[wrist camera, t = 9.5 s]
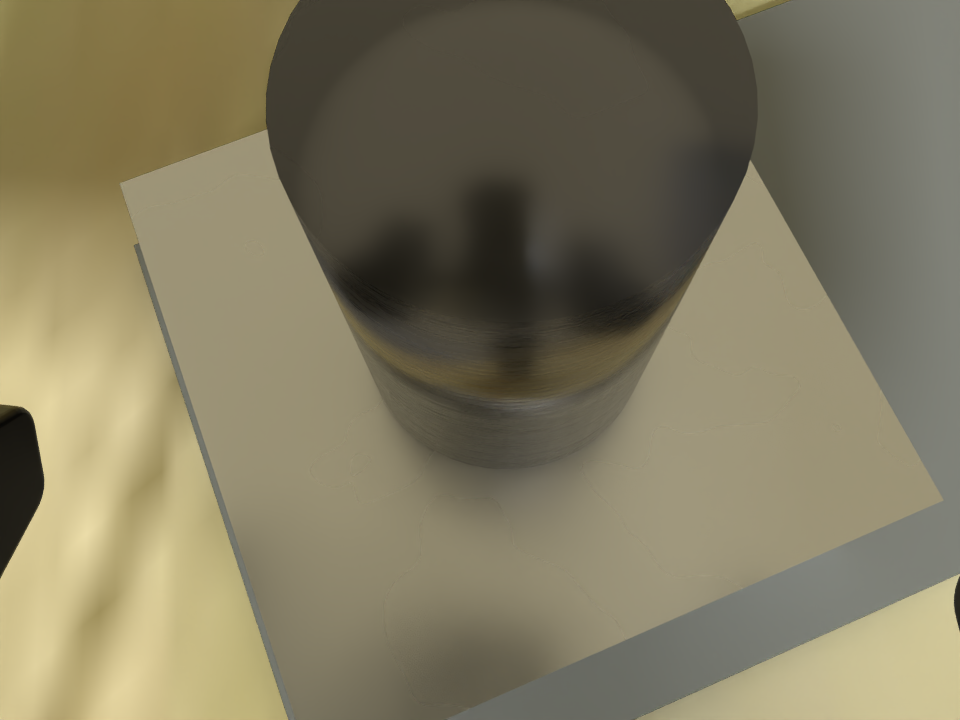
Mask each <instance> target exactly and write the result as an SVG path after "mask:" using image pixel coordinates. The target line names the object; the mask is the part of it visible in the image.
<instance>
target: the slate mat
mask: <svg viewBox="0 0 960 720" xmlns="http://www.w3.org/2000/svg"><path fill="white" fill-rule="evenodd" d="M737 22H738V24H739V26H740V28H741V30H742V32H743V34H744V37H745V40H746V43H747V46H748V49H749V52H750V55H751V58H752V62H753V67H754V73H755V78H756V84H757V98H758V120H757V128H756V136H755V144H754V148H753V152H752V155H751V159H750V160H751V162H752V164H753V165H754V167H755V169H756V171H757V172H758V174H759V176H760V178H761V179H762V181H763V183H764V185H765V186H766V188H767V190H768V192H769V193H770V195H771V197H772V199H773V201H774V202H775V204H776V206H777V208H778V209H779V211H780V213H781V215H782V216H783V218H784V220H785V222H786V223H787V225H788V227H789V229H790V230H791V232H792V234H793V236H794V237H795V239H796V241H797V243H798V245H799V246H800V248H801V250H802V252H803V253H804V255H805V257H806V259H807V260H808V262H809V264H810V266H811V267H812V269H813V271H814V273H815V274H816V276H817V278H818V280H819V281H820V283H821V285H822V287H823V289H824V290H825V292H826V294H827V296H828V297H829V299H830V301H831V303H832V304H833V306H834V308H835V310H836V311H837V313H838V315H839V317H840V318H841V320H842V322H843V324H844V325H845V327H846V329H847V331H848V333H849V334H850V336H851V338H852V340H853V341H854V343H855V345H856V347H857V348H858V350H859V352H860V354H861V355H862V357H863V359H864V361H865V362H866V364H867V366H868V368H869V369H870V371H871V373H872V375H873V377H874V378H875V380H876V382H877V384H878V385H879V387H880V389H881V391H882V392H883V394H884V396H885V398H886V399H887V401H888V403H889V405H890V406H891V408H892V410H893V412H894V413H895V415H896V417H897V419H898V421H899V422H900V424H901V426H902V428H903V429H904V431H905V433H906V435H907V436H908V438H909V440H910V442H911V443H912V445H913V447H914V449H915V450H916V452H917V454H918V456H919V458H920V459H921V461H922V463H923V465H924V466H925V468H926V470H927V472H928V473H929V475H930V477H931V479H932V480H933V482H934V484H935V486H936V487H937V489H938V491H939V493H940V494H941V496H942V498H943V501H941V502H939V503H936V504H934V505H932V506H929V507H927V508H925V509H923V510H920V511H918V512H916V513H914V514H911V515H909V516H907V517H904V518H902V519H900V520H898V521H895V522H893V523H891V524H889V525H886V526H884V527H882V528H879V529H877V530H875V531H873V532H870V533H868V534H866V535H864V536H861V537H859V538H857V539H854V540H852V541H850V542H848V543H845V544H843V545H841V546H839V547H836V548H834V549H832V550H829V551H827V552H825V553H823V554H820V555H818V556H816V557H813V558H811V559H809V560H807V561H804V562H802V563H800V564H798V565H795V566H793V567H791V568H788V569H786V570H784V571H782V572H779V573H777V574H775V575H773V576H770V577H768V578H766V579H763V580H761V581H759V582H757V583H754V584H752V585H750V586H748V587H745V588H743V589H741V590H738V591H736V592H734V593H732V594H729V595H727V596H725V597H723V598H720V599H718V600H716V601H713V602H711V603H709V604H707V605H704V606H702V607H700V608H698V609H695V610H693V611H691V612H688V613H686V614H684V615H682V616H679V617H677V618H675V619H672V620H670V621H668V622H666V623H663V624H661V625H659V626H657V627H654V628H652V629H650V630H647V631H645V632H643V633H641V634H638V635H636V636H634V637H632V638H629V639H627V640H625V641H622V642H620V643H618V644H616V645H613V646H611V647H609V648H607V649H604V650H602V651H600V652H597V653H595V654H593V655H591V656H588V657H586V658H584V659H582V660H579V661H577V662H575V663H572V664H570V665H568V666H566V667H563V668H561V669H559V670H556V671H554V672H552V673H550V674H547V675H545V676H543V677H541V678H538V679H536V680H534V681H531V682H529V683H527V684H525V685H522V686H520V687H518V688H516V689H513V690H511V691H509V692H506V693H504V694H502V695H500V696H497V697H495V698H493V699H491V700H488V701H486V702H484V703H481V704H479V705H477V706H475V707H472V708H470V709H468V710H466V711H463V712H461V713H459V714H456V715H454V716H452V717H450V718H447V719H445V720H634V719H636V718H639V717H641V716H643V715H645V714H648V713H650V712H652V711H654V710H657V709H659V708H661V707H663V706H665V705H668V704H670V703H672V702H674V701H677V700H679V699H681V698H683V697H686V696H688V695H690V694H692V693H694V692H697V691H699V690H701V689H703V688H706V687H708V686H710V685H712V684H715V683H717V682H719V681H721V680H723V679H726V678H728V677H730V676H732V675H735V674H737V673H739V672H741V671H744V670H746V669H748V668H750V667H752V666H755V665H757V664H759V663H761V662H764V661H766V660H768V659H770V658H773V657H775V656H777V655H779V654H781V653H784V652H786V651H788V650H790V649H793V648H795V647H797V646H799V645H801V644H804V643H806V642H808V641H810V640H813V639H815V638H817V637H819V636H822V635H824V634H826V633H828V632H830V631H833V630H835V629H837V628H839V627H842V626H844V625H846V624H848V623H851V622H853V621H855V620H857V619H859V618H862V617H864V616H866V615H868V614H871V613H873V612H875V611H877V610H880V609H882V608H884V607H886V606H888V605H891V604H893V603H895V602H897V601H900V600H902V599H904V598H906V597H909V596H911V595H913V594H915V593H917V592H920V591H922V590H924V589H926V588H929V587H931V586H933V585H935V584H938V583H940V582H942V581H944V580H946V579H949V578H951V577H953V576H955V575H958V574H960V0H791V1H788V2H785V3H783V4H780V5H777V6H775V7H772V8H769V9H767V10H764V11H761V12H759V13H756V14H753V15H751V16H748V17H745V18H742V19H740V20H737ZM134 247H135V250H136V253H137V256H138V260H139V263H140V266H141V269H142V272H143V275H144V278H145V281H146V284H147V287H148V290H149V293H150V296H151V299H152V302H153V306H154V309H155V312H156V315H157V318H158V321H159V324H160V327H161V330H162V333H163V336H164V339H165V342H166V345H167V349H168V352H169V355H170V358H171V361H172V364H173V367H174V370H175V373H176V376H177V379H178V382H179V385H180V388H181V392H182V395H183V398H184V401H185V404H186V407H187V410H188V413H189V416H190V419H191V422H192V425H193V428H194V431H195V434H196V438H197V441H198V444H199V447H200V450H201V453H202V456H203V459H204V462H205V465H206V468H207V471H208V474H209V477H210V481H211V484H212V487H213V490H214V493H215V496H216V499H217V502H218V505H219V508H220V511H221V514H222V517H223V520H224V524H225V527H226V530H227V533H228V536H229V539H230V542H231V545H232V548H233V551H234V554H235V557H236V560H237V563H238V566H239V570H240V573H241V576H242V579H243V582H244V585H245V588H246V591H247V594H248V597H249V600H250V603H251V606H252V609H253V613H254V616H255V619H256V622H257V625H258V628H259V631H260V634H261V637H262V640H263V643H264V646H265V649H266V652H267V656H268V659H269V662H270V665H271V668H272V671H273V674H274V677H275V680H276V683H277V686H278V689H279V692H280V695H281V698H282V702H283V705H284V708H285V711H286V714H287V717H288V720H296V719H295V716H294V713H293V710H292V707H291V704H290V701H289V698H288V695H287V692H286V689H285V686H284V683H283V680H282V677H281V674H280V670H279V667H278V664H277V661H276V658H275V655H274V652H273V649H272V646H271V643H270V640H269V637H268V634H267V631H266V628H265V625H264V622H263V619H262V616H261V613H260V610H259V607H258V604H257V601H256V597H255V594H254V591H253V588H252V585H251V582H250V579H249V576H248V573H247V570H246V567H245V564H244V561H243V558H242V555H241V552H240V549H239V546H238V543H237V540H236V537H235V534H234V531H233V527H232V524H231V521H230V518H229V515H228V512H227V509H226V506H225V503H224V500H223V497H222V494H221V491H220V488H219V485H218V482H217V479H216V476H215V473H214V470H213V467H212V464H211V461H210V458H209V454H208V451H207V448H206V445H205V442H204V439H203V436H202V433H201V430H200V427H199V424H198V421H197V418H196V415H195V412H194V409H193V406H192V403H191V400H190V397H189V394H188V391H187V388H186V385H185V381H184V378H183V375H182V372H181V369H180V366H179V363H178V360H177V357H176V354H175V351H174V348H173V345H172V342H171V339H170V336H169V333H168V330H167V327H166V324H165V321H164V318H163V315H162V311H161V308H160V305H159V302H158V299H157V296H156V293H155V290H154V287H153V284H152V281H151V278H150V275H149V272H148V269H147V266H146V263H145V260H144V257H143V254H142V251H141V248H140V245H139V243H138V244H135V245H134Z"/></svg>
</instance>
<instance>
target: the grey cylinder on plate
mask: <svg viewBox="0 0 960 720" xmlns="http://www.w3.org/2000/svg"><path fill="white" fill-rule="evenodd" d="M757 120H758V98H757V84H756V78H755V73H754V67H753V62H752V58H751V55H750V52H749V49H748V46H747V43H746V40H745V37H744V34H743V32H742V30H741V28H740V26H739V24H738V22H737V20H736V18H735V16H734V15H733V13H732V11H731V9H730V7H729V6H728V4H727V3H726V1H725V0H300V1H299V2H298V4H297V5H296V7H295V9H294V10H293V12H292V13H291V15H290V17H289V19H288V21H287V23H286V25H285V27H284V30H283V32H282V34H281V36H280V38H279V40H278V44H277V47H276V50H275V53H274V57H273V60H272V63H271V66H270V73H269V79H268V86H267V92H266V124H267V129H266V130H264V131H261V132H258V133H256V134H253V135H250V136H247V137H245V138H242V139H239V140H236V141H234V142H231V143H228V144H225V145H223V146H220V147H217V148H214V149H212V150H209V151H206V152H204V153H201V154H198V155H195V156H193V157H190V158H187V159H184V160H182V161H179V162H176V163H173V164H171V165H168V166H165V167H163V168H160V169H157V170H154V171H152V172H149V173H146V174H143V175H141V176H138V177H135V178H132V179H130V180H127V181H124V182H121V183H119V184H120V187H121V190H122V193H123V196H124V199H125V202H126V205H127V208H128V211H129V214H130V217H131V220H132V223H133V226H134V229H135V232H136V235H137V238H138V242H139V245H140V248H141V251H142V254H143V257H144V260H145V263H146V266H147V269H148V272H149V275H150V278H151V281H152V284H153V287H154V290H155V293H156V296H157V299H158V302H159V305H160V308H161V311H162V315H163V318H164V321H165V324H166V327H167V330H168V333H169V336H170V339H171V342H172V345H173V348H174V351H175V354H176V357H177V360H178V363H179V366H180V369H181V372H182V375H183V378H184V381H185V385H186V388H187V391H188V394H189V397H190V400H191V403H192V406H193V409H194V412H195V415H196V418H197V421H198V424H199V427H200V430H201V433H202V436H203V439H204V442H205V445H206V448H207V451H208V454H209V458H210V461H211V464H212V467H213V470H214V473H215V476H216V479H217V482H218V485H219V488H220V491H221V494H222V497H223V500H224V503H225V506H226V509H227V512H228V515H229V518H230V521H231V524H232V527H233V531H234V534H235V537H236V540H237V543H238V546H239V549H240V552H241V555H242V558H243V561H244V564H245V567H246V570H247V573H248V576H249V579H250V582H251V585H252V588H253V591H254V594H255V597H256V601H257V604H258V607H259V610H260V613H261V616H262V619H263V622H264V625H265V628H266V631H267V634H268V637H269V640H270V643H271V646H272V649H273V652H274V655H275V658H276V661H277V664H278V667H279V670H280V674H281V677H282V680H283V683H284V686H285V689H286V692H287V695H288V698H289V701H290V704H291V707H292V710H293V713H294V716H295V719H296V720H445V719H447V718H450V717H452V716H454V715H456V714H459V713H461V712H463V711H466V710H468V709H470V708H472V707H475V706H477V705H479V704H481V703H484V702H486V701H488V700H491V699H493V698H495V697H497V696H500V695H502V694H504V693H506V692H509V691H511V690H513V689H516V688H518V687H520V686H522V685H525V684H527V683H529V682H531V681H534V680H536V679H538V678H541V677H543V676H545V675H547V674H550V673H552V672H554V671H556V670H559V669H561V668H563V667H566V666H568V665H570V664H572V663H575V662H577V661H579V660H582V659H584V658H586V657H588V656H591V655H593V654H595V653H597V652H600V651H602V650H604V649H607V648H609V647H611V646H613V645H616V644H618V643H620V642H622V641H625V640H627V639H629V638H632V637H634V636H636V635H638V634H641V633H643V632H645V631H647V630H650V629H652V628H654V627H657V626H659V625H661V624H663V623H666V622H668V621H670V620H672V619H675V618H677V617H679V616H682V615H684V614H686V613H688V612H691V611H693V610H695V609H698V608H700V607H702V606H704V605H707V604H709V603H711V602H713V601H716V600H718V599H720V598H723V597H725V596H727V595H729V594H732V593H734V592H736V591H738V590H741V589H743V588H745V587H748V586H750V585H752V584H754V583H757V582H759V581H761V580H763V579H766V578H768V577H770V576H773V575H775V574H777V573H779V572H782V571H784V570H786V569H788V568H791V567H793V566H795V565H798V564H800V563H802V562H804V561H807V560H809V559H811V558H813V557H816V556H818V555H820V554H823V553H825V552H827V551H829V550H832V549H834V548H836V547H839V546H841V545H843V544H845V543H848V542H850V541H852V540H854V539H857V538H859V537H861V536H864V535H866V534H868V533H870V532H873V531H875V530H877V529H879V528H882V527H884V526H886V525H889V524H891V523H893V522H895V521H898V520H900V519H902V518H904V517H907V516H909V515H911V514H914V513H916V512H918V511H920V510H923V509H925V508H927V507H929V506H932V505H934V504H936V503H939V502H941V501H943V498H942V496H941V494H940V493H939V491H938V489H937V487H936V486H935V484H934V482H933V480H932V479H931V477H930V475H929V473H928V472H927V470H926V468H925V466H924V465H923V463H922V461H921V459H920V458H919V456H918V454H917V452H916V450H915V449H914V447H913V445H912V443H911V442H910V440H909V438H908V436H907V435H906V433H905V431H904V429H903V428H902V426H901V424H900V422H899V421H898V419H897V417H896V415H895V413H894V412H893V410H892V408H891V406H890V405H889V403H888V401H887V399H886V398H885V396H884V394H883V392H882V391H881V389H880V387H879V385H878V384H877V382H876V380H875V378H874V377H873V375H872V373H871V371H870V369H869V368H868V366H867V364H866V362H865V361H864V359H863V357H862V355H861V354H860V352H859V350H858V348H857V347H856V345H855V343H854V341H853V340H852V338H851V336H850V334H849V333H848V331H847V329H846V327H845V325H844V324H843V322H842V320H841V318H840V317H839V315H838V313H837V311H836V310H835V308H834V306H833V304H832V303H831V301H830V299H829V297H828V296H827V294H826V292H825V290H824V289H823V287H822V285H821V283H820V281H819V280H818V278H817V276H816V274H815V273H814V271H813V269H812V267H811V266H810V264H809V262H808V260H807V259H806V257H805V255H804V253H803V252H802V250H801V248H800V246H799V245H798V243H797V241H796V239H795V237H794V236H793V234H792V232H791V230H790V229H789V227H788V225H787V223H786V222H785V220H784V218H783V216H782V215H781V213H780V211H779V209H778V208H777V206H776V204H775V202H774V201H773V199H772V197H771V195H770V193H769V192H768V190H767V188H766V186H765V185H764V183H763V181H762V179H761V178H760V176H759V174H758V172H757V171H756V169H755V167H754V165H753V164H752V162H751V160H750V159H751V155H752V152H753V148H754V144H755V136H756V128H757Z"/></svg>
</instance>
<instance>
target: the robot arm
mask: <svg viewBox="0 0 960 720" xmlns="http://www.w3.org/2000/svg"><path fill="white" fill-rule="evenodd" d="M43 490H44V474H43V468H42V463H41V457H40V452H39V446H38V441H37V435H36V429H35V424H34V421H33V418H32V416H31V414H30V413H29V412H28V411H27V410H26V409H24V408H23V407H18V406H10V405H1V404H0V578H1V576H2V574H3V572H4V570H5V569H6V567H7V565H8V563H9V561H10V559H11V557H12V555H13V553H14V552H15V550H16V548H17V546H18V544H19V542H20V540H21V538H22V536H23V535H24V533H25V531H26V529H27V527H28V525H29V523H30V521H31V519H32V517H33V516H34V514H35V512H36V510H37V508H38V506H39V504H40V501H41V499H42V495H43ZM954 608H955V614H956V618H957V622H958V626H959V630H960V577H959V579H958V582H957V585H956V588H955V594H954Z"/></svg>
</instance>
